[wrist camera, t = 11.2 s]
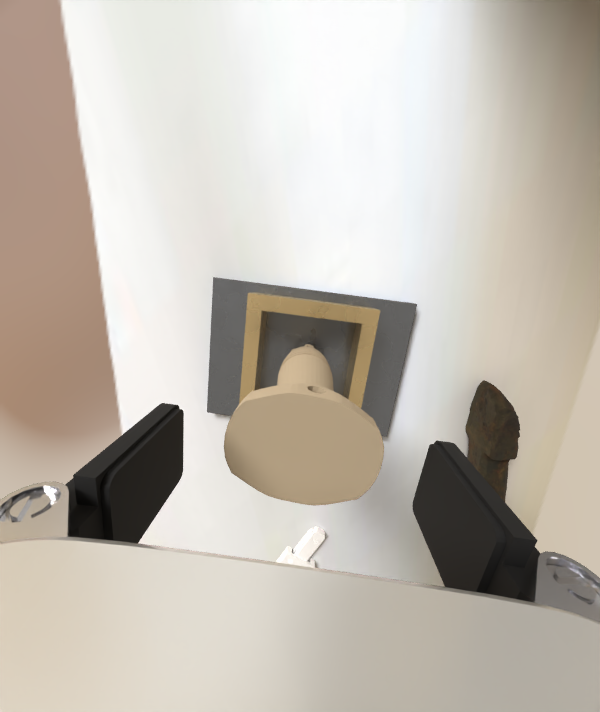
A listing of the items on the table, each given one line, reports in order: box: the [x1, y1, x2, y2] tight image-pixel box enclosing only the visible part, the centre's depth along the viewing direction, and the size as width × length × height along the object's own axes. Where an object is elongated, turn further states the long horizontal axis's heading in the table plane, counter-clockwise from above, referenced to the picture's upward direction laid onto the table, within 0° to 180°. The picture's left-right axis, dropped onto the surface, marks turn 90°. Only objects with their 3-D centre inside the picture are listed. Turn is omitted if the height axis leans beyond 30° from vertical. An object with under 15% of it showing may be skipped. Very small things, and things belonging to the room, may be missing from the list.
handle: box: [224, 344, 384, 505], centre depth 18 cm, size 5×6×15 cm
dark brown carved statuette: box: [466, 381, 520, 502], centre depth 27 cm, size 19×4×5 cm, turn 2°
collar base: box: [207, 277, 417, 436], centre depth 25 cm, size 13×18×4 cm
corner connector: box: [276, 527, 325, 568], centre depth 32 cm, size 8×8×2 cm
